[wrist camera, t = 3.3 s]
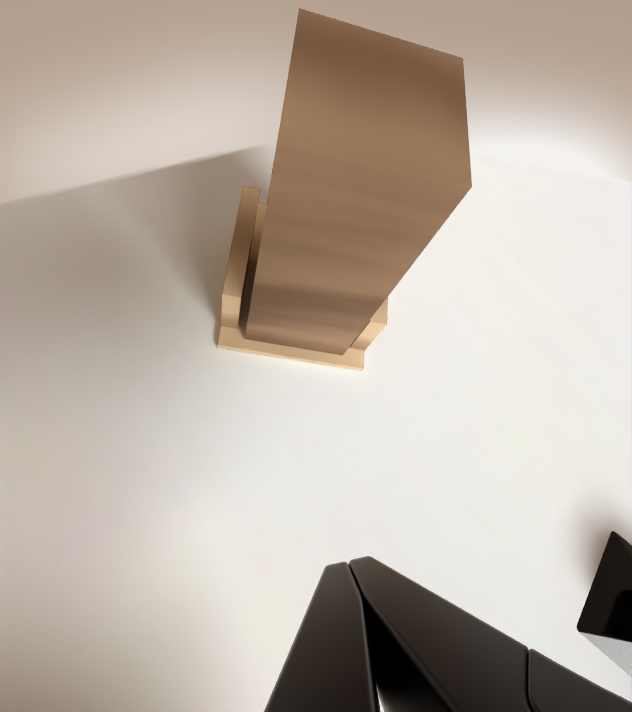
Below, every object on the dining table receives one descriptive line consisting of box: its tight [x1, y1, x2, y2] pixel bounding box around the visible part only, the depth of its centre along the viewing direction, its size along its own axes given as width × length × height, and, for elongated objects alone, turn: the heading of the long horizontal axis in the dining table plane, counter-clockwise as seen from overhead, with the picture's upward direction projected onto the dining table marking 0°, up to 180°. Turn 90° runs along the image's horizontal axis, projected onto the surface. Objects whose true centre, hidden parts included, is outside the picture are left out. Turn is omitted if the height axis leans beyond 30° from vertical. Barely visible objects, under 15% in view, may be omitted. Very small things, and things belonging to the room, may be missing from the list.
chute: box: [217, 186, 388, 371], centre depth 22 cm, size 9×7×4 cm
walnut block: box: [245, 9, 472, 355], centre depth 17 cm, size 5×5×12 cm
